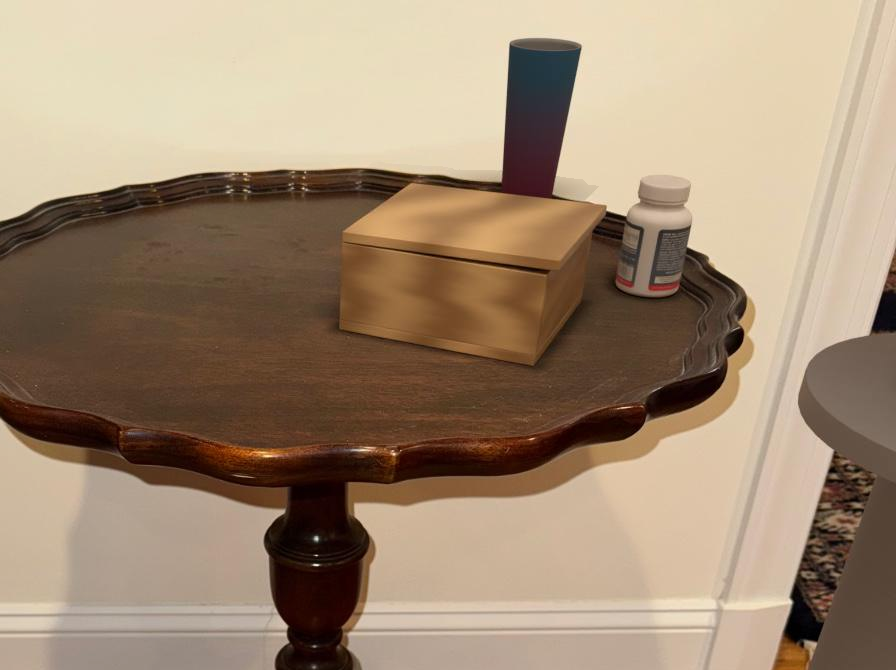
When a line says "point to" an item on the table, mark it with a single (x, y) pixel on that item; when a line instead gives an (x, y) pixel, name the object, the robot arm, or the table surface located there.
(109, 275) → the table surface
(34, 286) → the table surface
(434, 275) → the chest
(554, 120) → the cup
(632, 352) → the table surface
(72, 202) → the table surface
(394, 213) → the lid
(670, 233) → the pill bottle
